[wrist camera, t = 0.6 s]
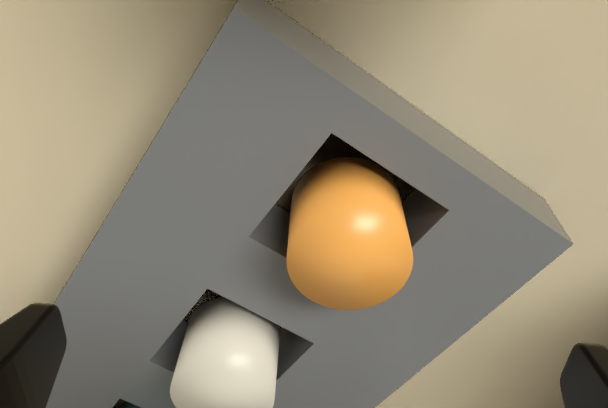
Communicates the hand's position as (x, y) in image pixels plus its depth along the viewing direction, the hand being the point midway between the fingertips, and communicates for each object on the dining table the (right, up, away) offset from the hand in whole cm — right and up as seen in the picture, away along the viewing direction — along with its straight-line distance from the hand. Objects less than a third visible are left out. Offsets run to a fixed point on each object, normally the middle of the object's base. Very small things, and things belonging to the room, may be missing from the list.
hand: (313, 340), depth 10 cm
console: (-3, -2, +16) cm, 16 cm away
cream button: (-3, -3, +14) cm, 15 cm away
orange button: (+1, +2, +11) cm, 11 cm away
